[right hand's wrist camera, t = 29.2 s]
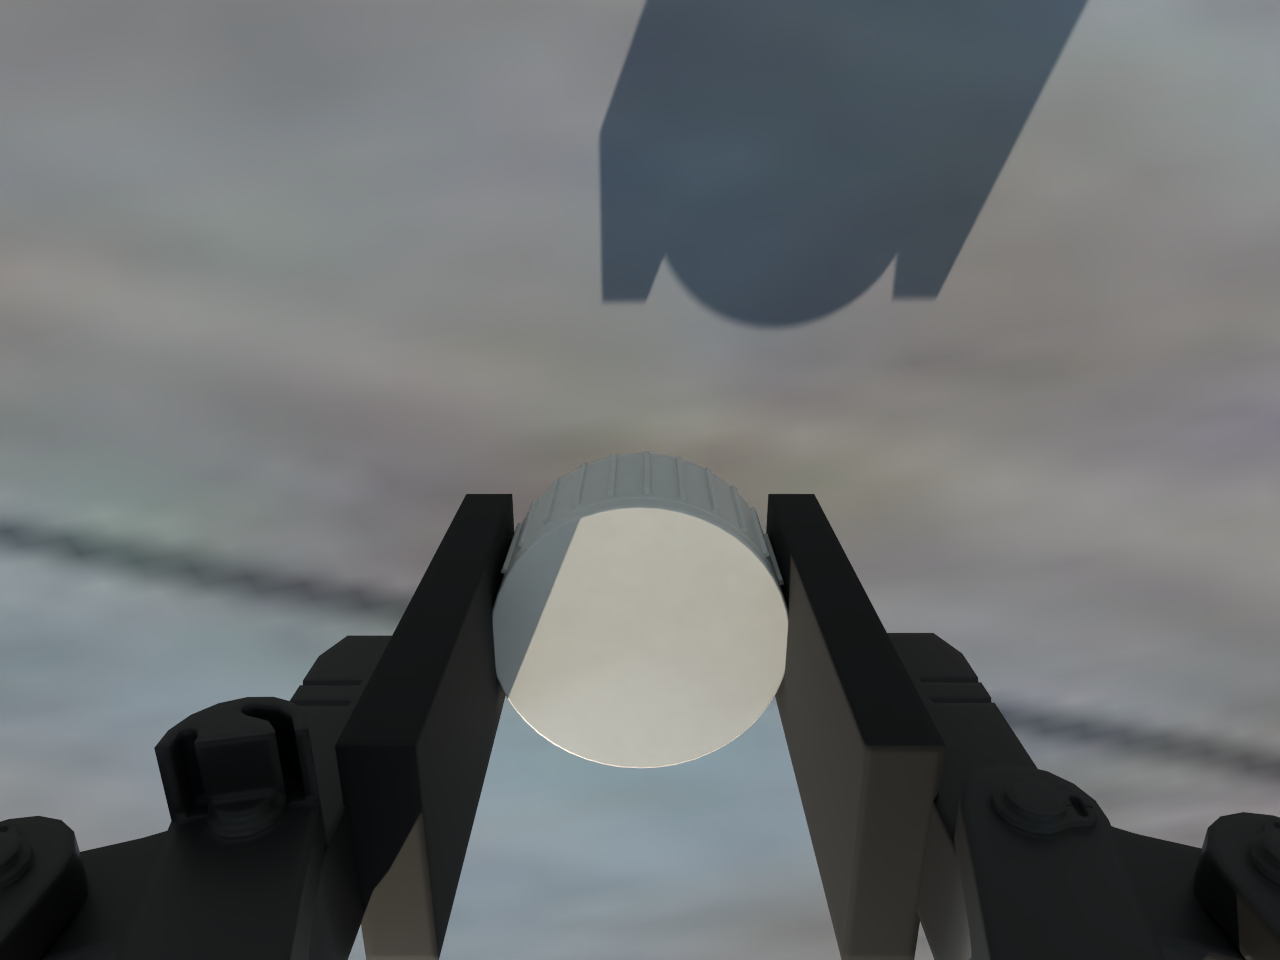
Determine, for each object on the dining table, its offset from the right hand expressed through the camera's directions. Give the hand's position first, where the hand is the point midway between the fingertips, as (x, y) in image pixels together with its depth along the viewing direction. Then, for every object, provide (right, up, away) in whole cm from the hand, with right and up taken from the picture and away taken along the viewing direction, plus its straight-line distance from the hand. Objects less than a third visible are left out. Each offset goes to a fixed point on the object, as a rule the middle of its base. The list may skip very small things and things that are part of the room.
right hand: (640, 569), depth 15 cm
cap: (0, -1, -2) cm, 2 cm away
